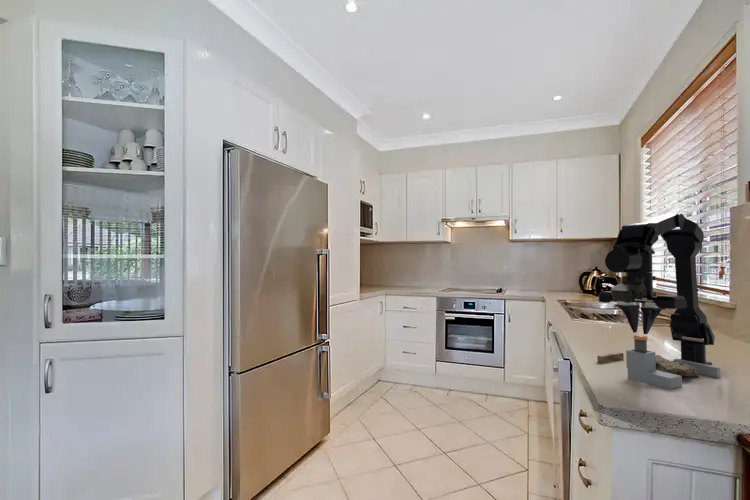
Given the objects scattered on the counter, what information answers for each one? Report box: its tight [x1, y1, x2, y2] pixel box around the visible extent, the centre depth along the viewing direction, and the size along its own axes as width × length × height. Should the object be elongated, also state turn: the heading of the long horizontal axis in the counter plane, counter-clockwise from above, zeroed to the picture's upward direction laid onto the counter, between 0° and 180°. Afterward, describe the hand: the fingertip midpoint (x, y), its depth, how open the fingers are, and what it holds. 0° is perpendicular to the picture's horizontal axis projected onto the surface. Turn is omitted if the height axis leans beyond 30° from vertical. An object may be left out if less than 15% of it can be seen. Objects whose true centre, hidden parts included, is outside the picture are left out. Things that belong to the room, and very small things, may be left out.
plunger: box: [632, 334, 649, 353], centre depth 100 cm, size 3×3×6 cm
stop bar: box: [596, 351, 625, 364], centre depth 118 cm, size 10×1×2 cm, turn 116°
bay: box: [625, 348, 721, 390], centre depth 101 cm, size 22×10×7 cm, turn 115°
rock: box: [655, 354, 701, 378], centre depth 104 cm, size 11×12×4 cm
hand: (640, 333), depth 100 cm, fingers open, 2 cm apart
